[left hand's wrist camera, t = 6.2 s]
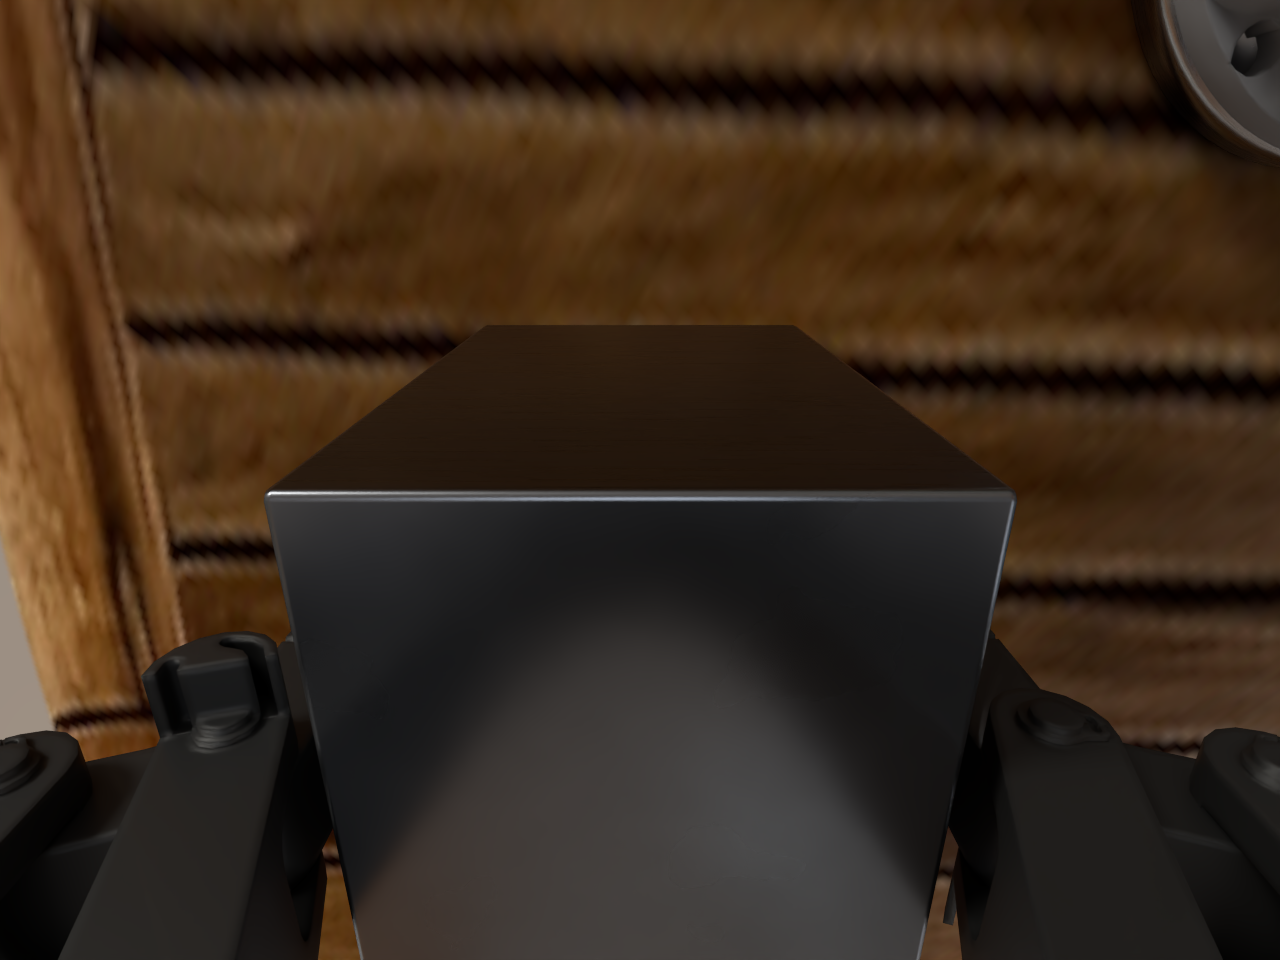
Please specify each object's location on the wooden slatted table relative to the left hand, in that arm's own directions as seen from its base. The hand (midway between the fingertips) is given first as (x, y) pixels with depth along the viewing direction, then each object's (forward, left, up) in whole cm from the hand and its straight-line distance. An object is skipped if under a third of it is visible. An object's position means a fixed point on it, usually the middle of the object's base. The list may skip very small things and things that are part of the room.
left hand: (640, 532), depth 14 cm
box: (0, +7, 0) cm, 7 cm away
